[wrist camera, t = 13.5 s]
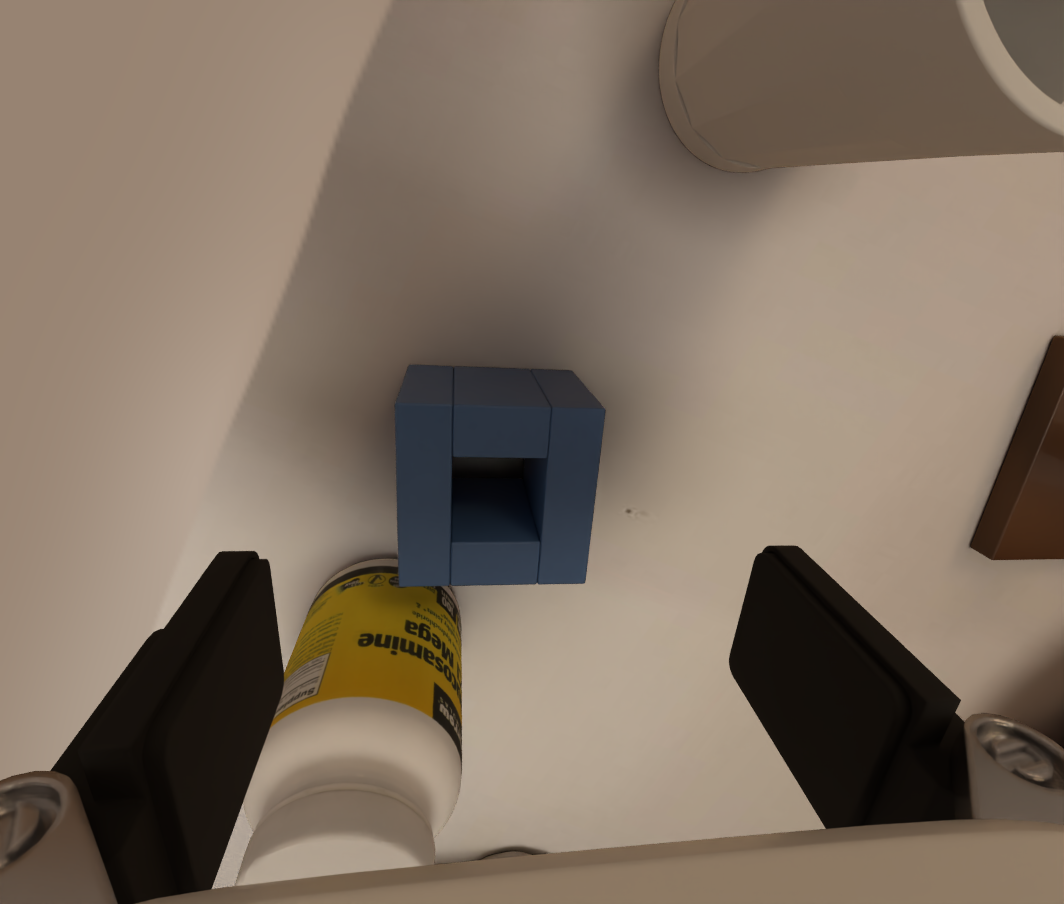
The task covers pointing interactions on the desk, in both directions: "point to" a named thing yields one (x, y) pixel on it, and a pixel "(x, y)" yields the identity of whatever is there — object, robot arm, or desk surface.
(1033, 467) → the dowel stand
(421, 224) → the desk surface
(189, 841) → the robot arm
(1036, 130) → the cup
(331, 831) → the pill bottle
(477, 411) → the collar block
